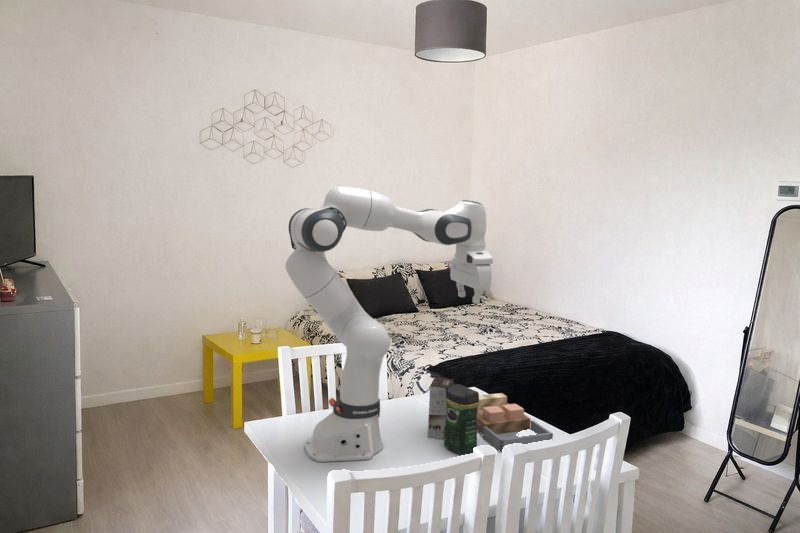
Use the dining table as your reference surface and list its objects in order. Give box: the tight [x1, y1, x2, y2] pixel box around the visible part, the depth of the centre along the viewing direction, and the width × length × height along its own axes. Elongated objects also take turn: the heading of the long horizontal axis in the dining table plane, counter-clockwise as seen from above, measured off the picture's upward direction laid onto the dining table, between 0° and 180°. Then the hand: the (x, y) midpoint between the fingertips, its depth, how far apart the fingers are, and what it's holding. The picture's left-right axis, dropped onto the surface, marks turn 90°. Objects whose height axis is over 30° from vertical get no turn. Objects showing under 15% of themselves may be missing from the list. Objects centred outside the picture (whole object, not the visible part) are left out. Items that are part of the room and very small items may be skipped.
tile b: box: [502, 403, 525, 420], centre depth 200 cm, size 5×5×3 cm
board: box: [477, 402, 531, 436], centre depth 203 cm, size 16×15×4 cm
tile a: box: [482, 406, 505, 422], centre depth 197 cm, size 5×5×3 cm
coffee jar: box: [443, 383, 480, 455], centre depth 183 cm, size 10×8×19 cm
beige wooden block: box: [477, 392, 508, 410], centre depth 207 cm, size 12×4×4 cm, turn 111°
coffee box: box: [427, 377, 454, 440], centre depth 194 cm, size 9×6×16 cm
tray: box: [482, 419, 554, 453], centre depth 191 cm, size 18×11×4 cm, turn 111°
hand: (468, 299), depth 192 cm, fingers open, 8 cm apart
